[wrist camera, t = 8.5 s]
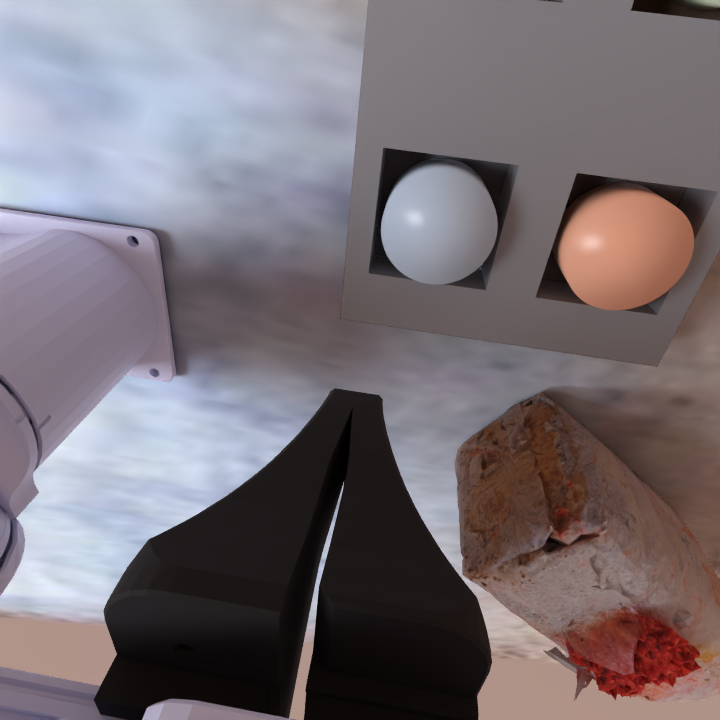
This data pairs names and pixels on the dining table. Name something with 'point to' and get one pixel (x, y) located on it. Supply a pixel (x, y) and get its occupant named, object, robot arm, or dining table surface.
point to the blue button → (439, 222)
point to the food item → (588, 556)
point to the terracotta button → (622, 246)
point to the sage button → (700, 4)
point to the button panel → (535, 155)
